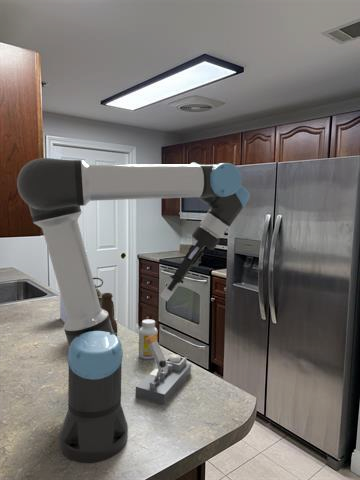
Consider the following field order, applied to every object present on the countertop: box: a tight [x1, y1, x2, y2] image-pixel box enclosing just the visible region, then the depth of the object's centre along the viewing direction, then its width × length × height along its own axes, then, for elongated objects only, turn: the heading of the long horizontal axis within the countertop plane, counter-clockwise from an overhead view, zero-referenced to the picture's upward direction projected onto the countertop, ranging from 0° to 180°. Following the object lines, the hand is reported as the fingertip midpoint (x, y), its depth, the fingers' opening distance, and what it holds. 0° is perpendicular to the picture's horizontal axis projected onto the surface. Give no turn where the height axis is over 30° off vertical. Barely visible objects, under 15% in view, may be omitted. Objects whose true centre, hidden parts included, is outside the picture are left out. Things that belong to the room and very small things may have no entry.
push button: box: [168, 353, 182, 363], centre depth 110 cm, size 4×4×2 cm
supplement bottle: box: [138, 318, 159, 360], centre depth 123 cm, size 7×7×13 cm
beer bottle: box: [102, 292, 118, 337], centre depth 116 cm, size 8×8×24 cm
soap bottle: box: [59, 292, 68, 324], centre depth 158 cm, size 9×7×23 cm
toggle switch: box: [154, 360, 166, 385], centre depth 97 cm, size 2×2×8 cm
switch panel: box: [135, 354, 192, 406], centre depth 104 cm, size 9×20×5 cm, turn 157°
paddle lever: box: [145, 334, 170, 375], centre depth 104 cm, size 2×4×12 cm, turn 158°
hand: (163, 298), depth 100 cm, fingers closed
